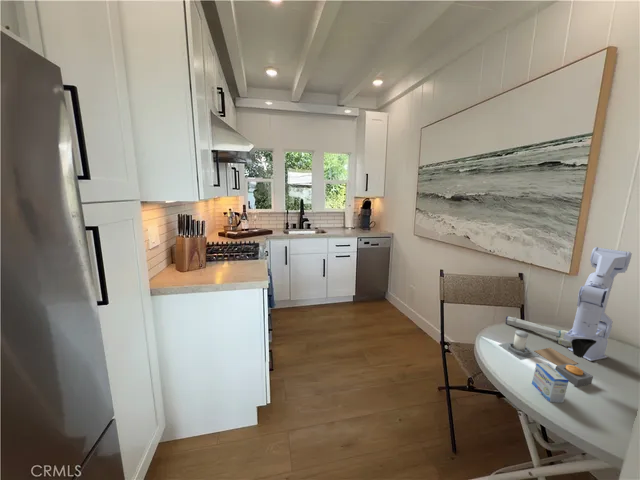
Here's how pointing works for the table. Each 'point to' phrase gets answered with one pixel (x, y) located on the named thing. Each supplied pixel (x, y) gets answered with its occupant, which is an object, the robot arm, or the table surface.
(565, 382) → the medicine box
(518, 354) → the cartridge socket
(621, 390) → the table surface
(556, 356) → the tan board
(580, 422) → the table surface
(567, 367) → the release button
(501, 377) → the table surface
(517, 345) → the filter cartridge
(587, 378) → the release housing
